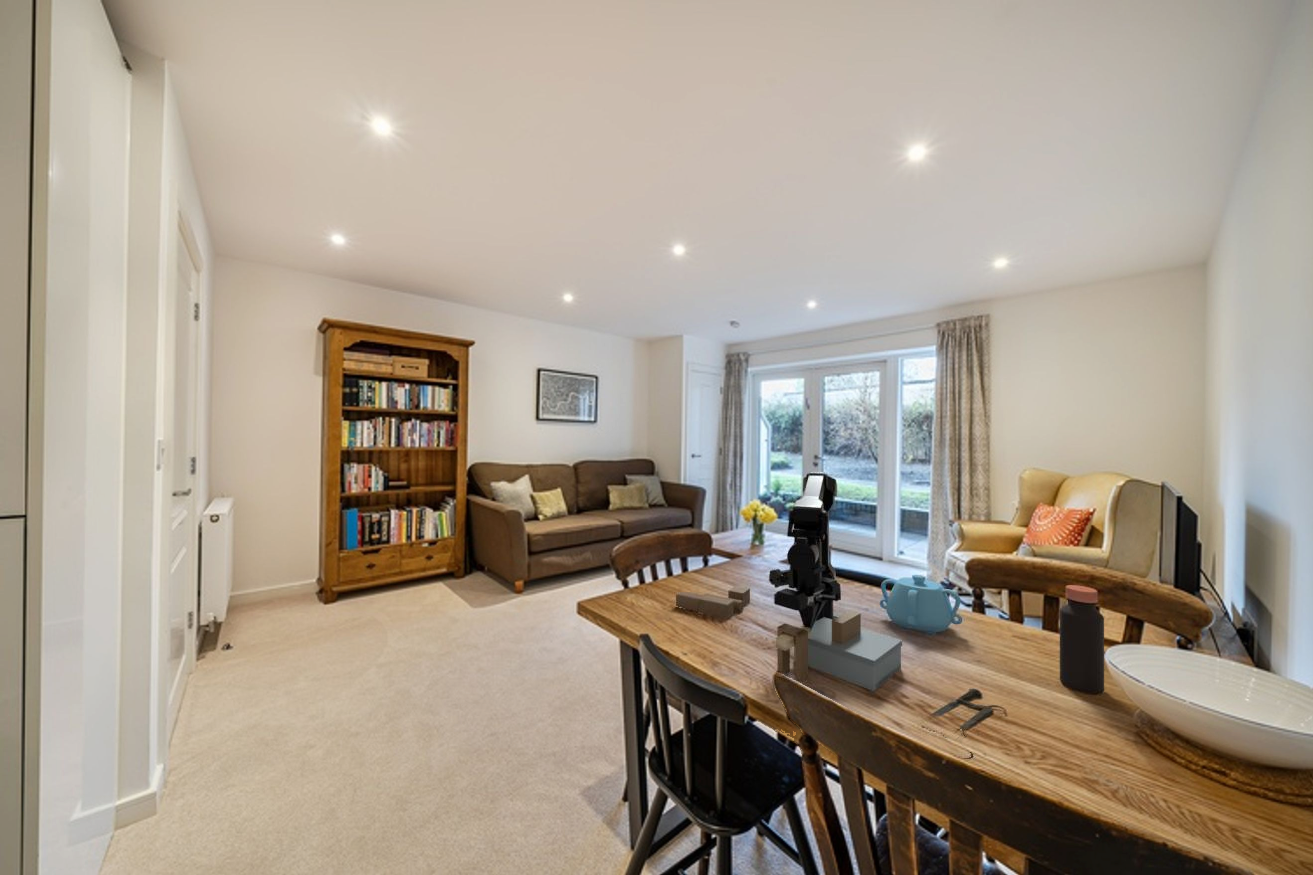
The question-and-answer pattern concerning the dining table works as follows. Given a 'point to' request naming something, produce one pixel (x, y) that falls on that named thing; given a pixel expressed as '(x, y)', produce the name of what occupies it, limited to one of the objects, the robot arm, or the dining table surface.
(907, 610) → the decorative pot
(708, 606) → the wooden block set
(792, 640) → the wooden key
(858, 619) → the lid
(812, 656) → the toolbox
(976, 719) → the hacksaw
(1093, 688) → the bottle
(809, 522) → the robot arm
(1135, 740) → the dining table surface
